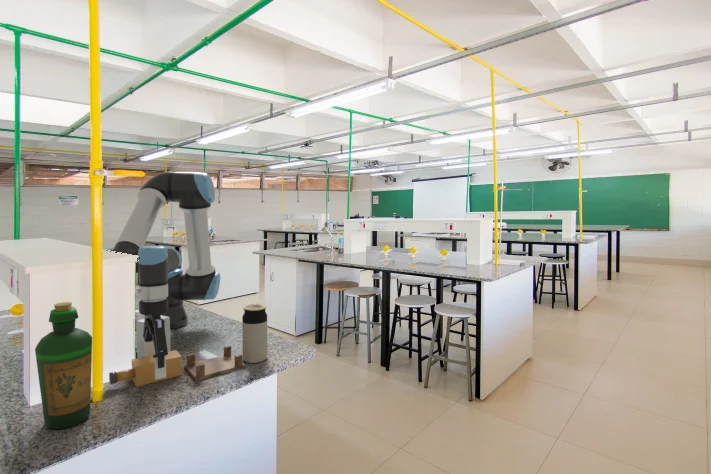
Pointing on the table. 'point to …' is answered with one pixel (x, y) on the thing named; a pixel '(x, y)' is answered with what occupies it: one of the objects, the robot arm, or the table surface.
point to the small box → (142, 343)
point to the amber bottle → (148, 370)
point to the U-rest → (214, 365)
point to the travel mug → (254, 333)
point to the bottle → (64, 369)
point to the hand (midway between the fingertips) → (155, 369)
